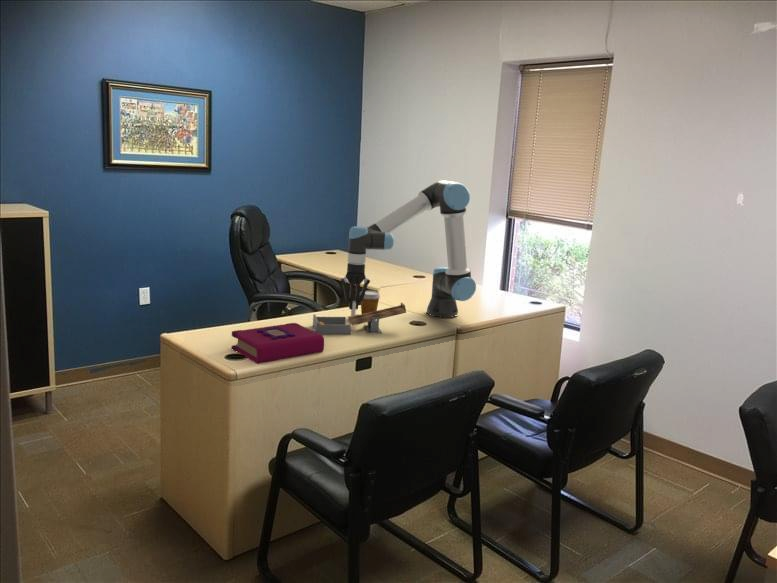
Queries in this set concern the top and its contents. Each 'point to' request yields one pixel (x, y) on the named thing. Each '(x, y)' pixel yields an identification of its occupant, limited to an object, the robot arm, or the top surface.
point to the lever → (377, 314)
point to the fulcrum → (373, 325)
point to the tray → (331, 325)
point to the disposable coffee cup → (370, 302)
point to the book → (277, 342)
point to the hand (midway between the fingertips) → (353, 316)
